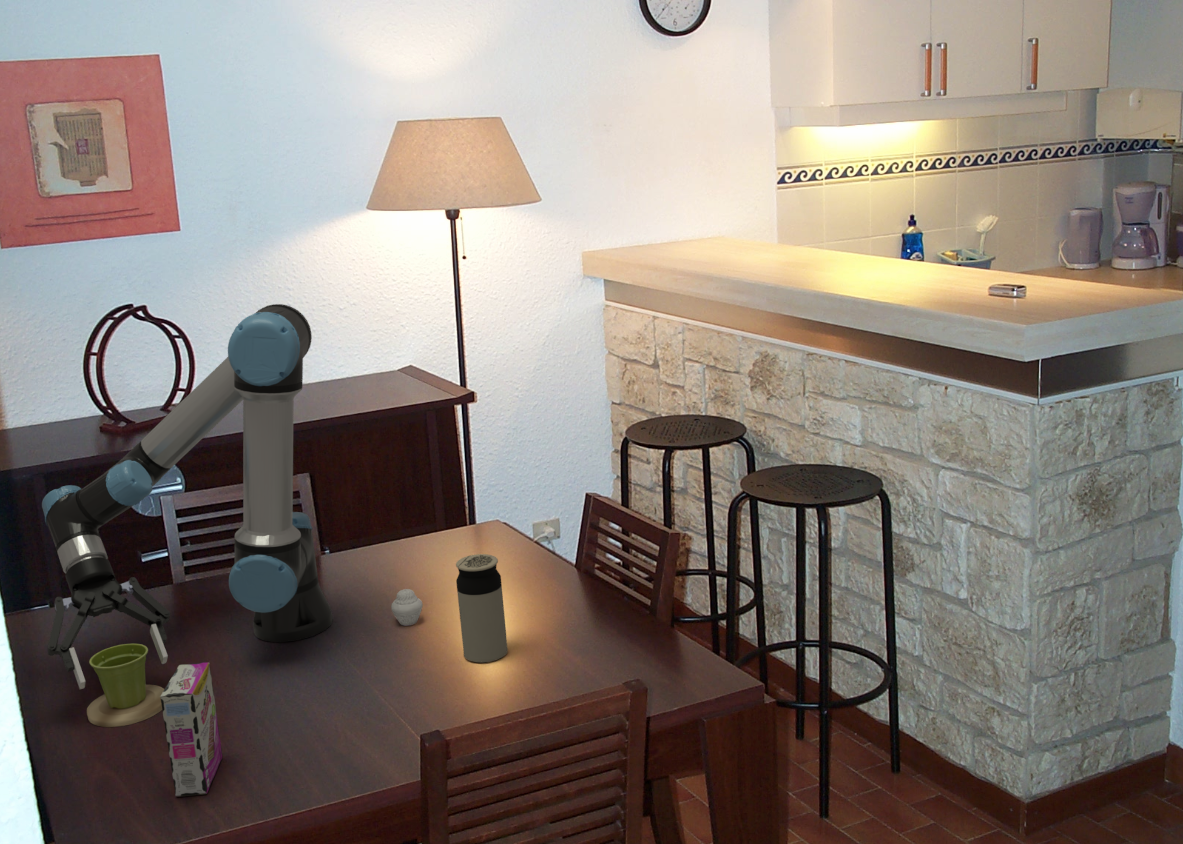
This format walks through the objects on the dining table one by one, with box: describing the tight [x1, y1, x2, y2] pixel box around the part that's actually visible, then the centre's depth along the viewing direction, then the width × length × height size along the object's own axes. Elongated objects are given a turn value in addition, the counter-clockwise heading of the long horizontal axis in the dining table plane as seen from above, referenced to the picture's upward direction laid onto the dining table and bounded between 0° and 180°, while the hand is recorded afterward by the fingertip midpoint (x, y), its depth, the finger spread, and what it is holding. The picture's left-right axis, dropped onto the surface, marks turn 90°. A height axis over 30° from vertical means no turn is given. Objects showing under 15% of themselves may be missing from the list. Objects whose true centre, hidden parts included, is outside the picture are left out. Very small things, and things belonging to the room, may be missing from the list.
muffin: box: [390, 588, 424, 627], centre depth 233 cm, size 6×6×7 cm
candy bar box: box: [160, 661, 223, 798], centre depth 179 cm, size 11×5×16 cm, turn 5°
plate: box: [86, 684, 165, 728], centre depth 205 cm, size 13×13×1 cm
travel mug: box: [455, 553, 509, 663], centre depth 215 cm, size 8×8×18 cm
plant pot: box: [89, 643, 149, 709], centre depth 204 cm, size 9×9×9 cm
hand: (124, 672), depth 202 cm, fingers open, 13 cm apart
